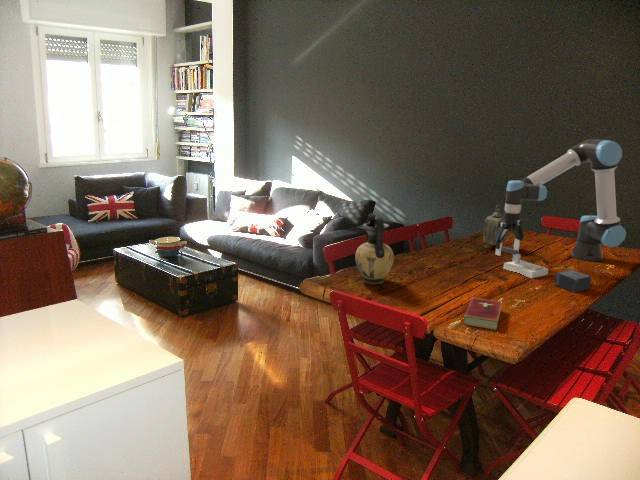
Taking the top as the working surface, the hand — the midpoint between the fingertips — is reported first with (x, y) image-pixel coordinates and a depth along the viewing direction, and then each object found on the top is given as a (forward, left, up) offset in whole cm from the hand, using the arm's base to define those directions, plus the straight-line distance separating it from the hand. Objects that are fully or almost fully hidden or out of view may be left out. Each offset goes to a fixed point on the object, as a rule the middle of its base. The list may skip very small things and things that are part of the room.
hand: (506, 253), depth 269 cm
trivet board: (0, +12, -6) cm, 13 cm away
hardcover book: (+65, +42, -7) cm, 78 cm away
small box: (0, +32, -3) cm, 32 cm away
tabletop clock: (-23, -27, -6) cm, 36 cm away
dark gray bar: (0, +7, -3) cm, 8 cm away
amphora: (+76, -11, -6) cm, 77 cm away
